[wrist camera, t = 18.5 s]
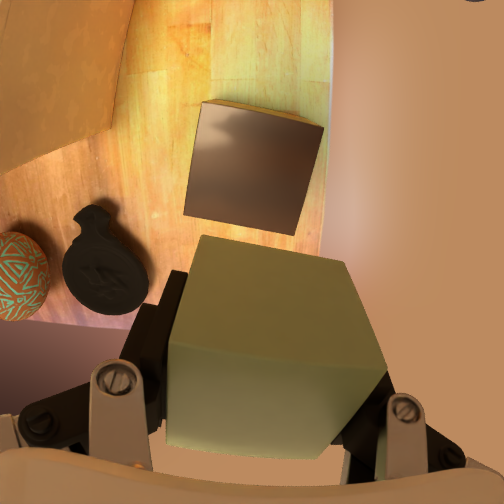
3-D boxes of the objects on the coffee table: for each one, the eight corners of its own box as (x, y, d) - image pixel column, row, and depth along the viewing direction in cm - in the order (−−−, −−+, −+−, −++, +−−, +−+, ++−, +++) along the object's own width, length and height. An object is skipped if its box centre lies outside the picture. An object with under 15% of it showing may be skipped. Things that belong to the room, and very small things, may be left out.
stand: (215, 98, 39) (201, 101, 28) (304, 117, 40) (324, 127, 29) (199, 183, 44) (183, 215, 34) (283, 199, 45) (294, 236, 35)
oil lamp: (150, 197, 45) (139, 210, 41) (157, 305, 54) (150, 324, 50) (64, 195, 44) (48, 206, 40) (82, 296, 54) (72, 313, 49)
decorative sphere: (59, 222, 46) (9, 268, 33) (69, 295, 53) (33, 349, 40) (-2, 213, 45) (-52, 252, 32) (12, 281, 52) (-27, 326, 39)
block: (201, 233, 11) (167, 341, 6) (344, 260, 11) (389, 368, 7) (186, 340, 13) (165, 445, 9) (302, 357, 13) (316, 460, 9)
